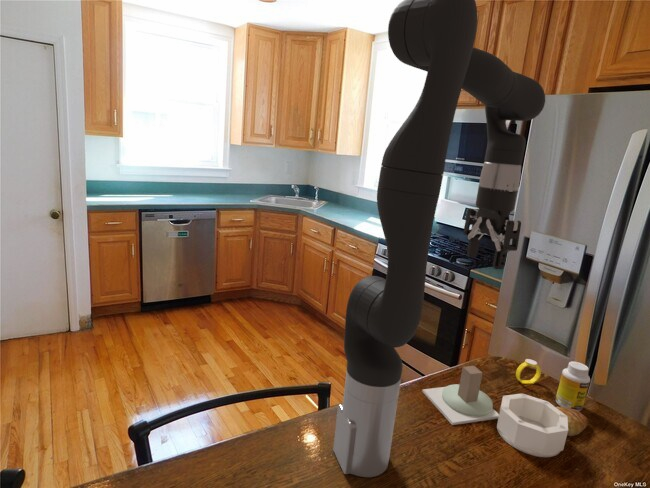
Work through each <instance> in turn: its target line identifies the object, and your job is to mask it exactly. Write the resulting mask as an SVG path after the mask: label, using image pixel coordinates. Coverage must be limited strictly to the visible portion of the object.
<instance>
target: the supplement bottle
mask: <svg viewBox="0 0 650 488" xmlns="http://www.w3.org/2000/svg"><path fill="white" fill-rule="evenodd" d="M589 371H590V370H589V367H588V366H587V365H586V364H584V363H582V362H578V361H574V360H573V361H569V362H568V365H567V367H566V368H564V369H562V371H561V377H560V380H559V384H558V388H557V391H556V395H555V402H556V404H557V405H558V406H559V407H564V408H569V409H575V410H577V411H579V412H581V411H582V410H583V408H584V405H585V400H586V397H587V393H588V391H589V387H590V386H589V385H590V382H591V378H590V375H589Z"/></svg>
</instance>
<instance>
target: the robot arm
mask: <svg viewBox="0 0 650 488" xmlns="http://www.w3.org/2000/svg"><path fill="white" fill-rule="evenodd" d="M476 3H477V2H476V0H402V1H401V2H399V3H398V4H397V5H396V6H395V7H394V9H393V10H392V13H391V15H390V18H389V22H388V27H387V38H388V39H387V40H388V43H389V46H390V49H391V51H392V53H393V54H394V56H395V57H396V58H397V60H398V61H400V62H401V63H402V64H404V65H407V66H410V67H413V68H416V69H419V70H421V71H424V72H427V73H426V77H425V80H424V85H423V87H422V91H421V94H420V96H419V98H418V100H417V103H416V104H415V106H414V108H413V109H412V111H411V112H410V113H409V115H408V116H407V118H406V119H405V120H404V122H403V123H402V125H401V126H400V127H399V128H398V130H397V131H396V133H395V135H394V136H393V137H392V138H391V139H390V141H389V143H388V145H387V147H386V148H385V151H384V153H383V156H382V160H381V166H380V171H379V177H378V178H379V179H378V182H377V183H378V184H377V189H376V190H377V193H376V204H377V212H378V216H379V221H380V224H381V227H382V232H383V235H384V239H385V245H386V249H387V268H386V276H385V278H384V277H381V276H377V275H369V276H365V277H364V278H362V279H360V280H359V281H358V282H357V283H355V286H354V287H353V288H352V290H351V291H350V294H349V296H348V299H347V305H346V309H345V310H346V311H345V323H344V337H343V338H344V343H343V351H344V354H345V359H346V372H345V381H344V389H343V398H342V403H341V404H338V405H337V413H336V421H335V431H334V440H333V449H332V450H333V453H334V456H335V457H336V459H337V461H338V463H339V466H340V467H341V470H342V473H343V474H344V475H349V474H350V475H354V476H357V477H362V478H373V477H377V476H380V475H381V474H383V473H385V471H386V470H387V469H388V466H389V461H390V455H391V448H392V442H393V435H394V427H395V423H396V422H395V421H396V414H397V413H396V412H397V406H398V401H399V395H400V394H399V392H400V388H401V381H402V373H403V360H402V357H401V356H400V354H399V352H398V351H397V350H396V349H395V348H401V347H403V346H404V345H406V344H408V343H409V341H411V339H412V338H413V337H414V335H415V334H416V332H417V331H418V327H419V325H420V321H421V319H422V314H423V309H424V308H423V307H424V299H425V288H426V286H425V285H426V277H427V276H426V275H427V265H428V257H429V251H430V243H431V238H432V233H433V226H434V220H435V216H436V215H435V214H436V210H437V207H438V202H439V197H440V193H441V188H442V182H443V177H444V172H445V166H446V165H445V164H446V159H447V154H448V148H449V143H450V138H451V135H452V134H451V133H452V128H453V123H454V120H455V114H456V111H457V107H458V103H459V99H460V96H461V93H462V90H463V91H465V92H466V93H468V94H469V95H470V96H472V97H473V98H475V99H476V100H478V101H479V103H481V104H483V105H484V110H485V120H486V129H487V130H486V133H487V144H486V145H487V146H486V150H485V155H484V162H483V166H482V169H481V172H480V178H479V183H478V186H477V187H478V188H477V194H476V201H475V206H476V208H468V209H467V212H466V216H465V217H466V218H465V223H464V225H463V226H464V227H463V235H465V236H466V237H467V239H468V243H467V252H466V255H467V257H469V258H476V257H478V253H479V248H480V242H481V241H480V239H481V238H482V237H483V236H484V235H487V236H489V237H490V238H491V241H492V242H494V245H495V249H496V250H495V251H494V257H493V260H492V261H493V262H492V266H491V267H492V268H493V269H495V270H503V269H504V267H505V266H506V261H507V257H508V253H509V252H516V251H517V250H518V248H519V239H520V234H521V228H522V222H521V221H520V220H515V219H513V220H511V219H510V214H511V213H512V212H514V211H515V207H516V203H517V197H518V192H519V186H520V181H521V174H522V173H521V172H522V164H523V159H524V153H525V149H526V143H527V141H526V138H525V136H524V135H522V134H519V133H515V132H512V131H510V130H509V129H508V127H507V123H506V122H507V121H515V122H516V121H517V122H519V121H520V122H521V121H522V122H525V121H531V120H534V119H535V118H536V117H538V116H539V115H540V114H541V112H542V111H543V110H544V108H545V104H546V93H545V90H544V88H543V86H542V85H541V84H540V83H539V82H538V81H537V80H535V79H534V78H531V77H530V76H526V75H524V74H522V73H519V72H515V71H513V70H512V69H511V68H510V67H509V66H508V65H507V64H506V63H505V62H503V60H501V58H500V57H497V56H496V55H495V54H492V53H490V52H487V51H485V50H483V49H479V48H477V47H474V46H475V42H476V41H475V40H476V37H477V36H476V35H477V28H478V7H477V4H476ZM470 227H471V229H470Z"/></svg>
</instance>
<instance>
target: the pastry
mask: <svg viewBox="0 0 650 488" xmlns="http://www.w3.org/2000/svg"><path fill="white" fill-rule="evenodd" d="M555 407H556V408H557V409H558V410H560V411H561V412H562V413H564V414H565V415H566V416H567V418H568V433H567V437H574V436H578V435H580V433H582V432H583V431H584V430H585V429H586V428H587V426H588V418H587V416H585V415H584V414H583V413H581V411H577V410H575V409H569V408H564V407H561V406H560V405H558V406H555Z"/></svg>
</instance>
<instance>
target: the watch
mask: <svg viewBox="0 0 650 488" xmlns="http://www.w3.org/2000/svg"><path fill="white" fill-rule="evenodd" d="M527 367H533V368H536V370H535V371H536V373H535V374H534V376H533V377H532V378H530V379H521V374H522V371H523V370H524V369H525V368H527ZM515 371H516V372H515V377H516V380H517V381H518V382H520V384H522V385H534V384H536V383H537V382H538V381H539V379H540V378H541V374H542V370H541V366H539V365H538V362H537V361H536V360H533V359H530V358H526V359H525V360H524V362H522V363H521V364H519V366H518V367H517V368H516V370H515Z"/></svg>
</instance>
